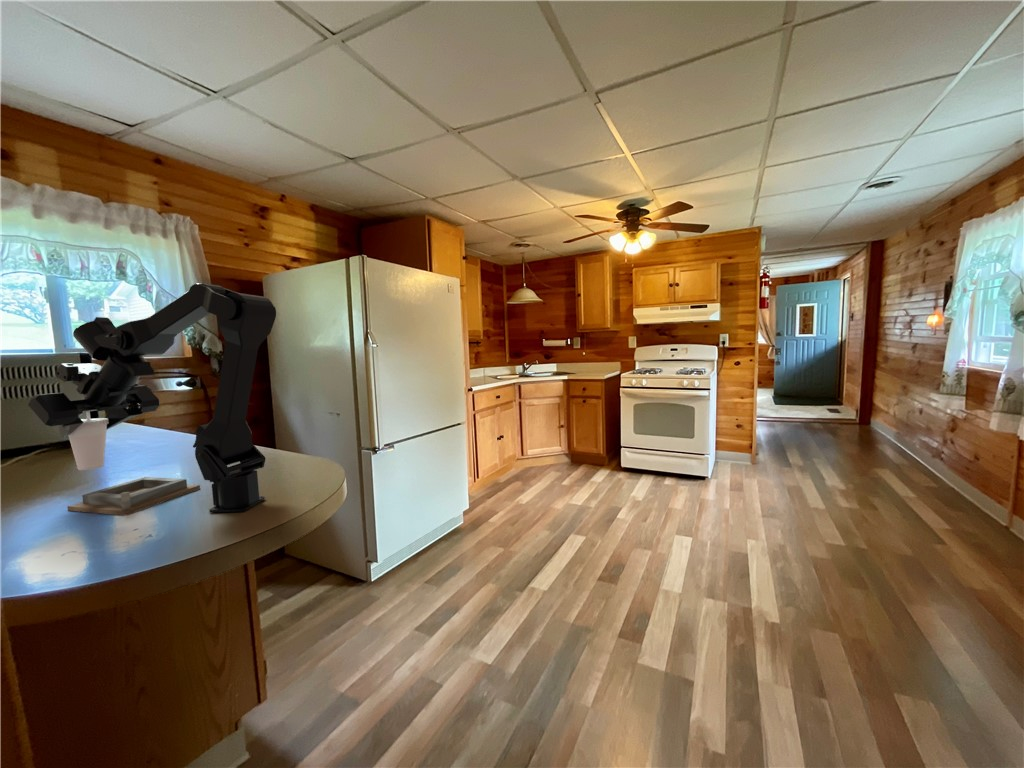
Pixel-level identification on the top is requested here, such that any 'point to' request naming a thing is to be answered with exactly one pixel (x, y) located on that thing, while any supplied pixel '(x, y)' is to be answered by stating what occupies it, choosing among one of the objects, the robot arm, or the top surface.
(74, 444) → the smoothie
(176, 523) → the top surface
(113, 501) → the socket
